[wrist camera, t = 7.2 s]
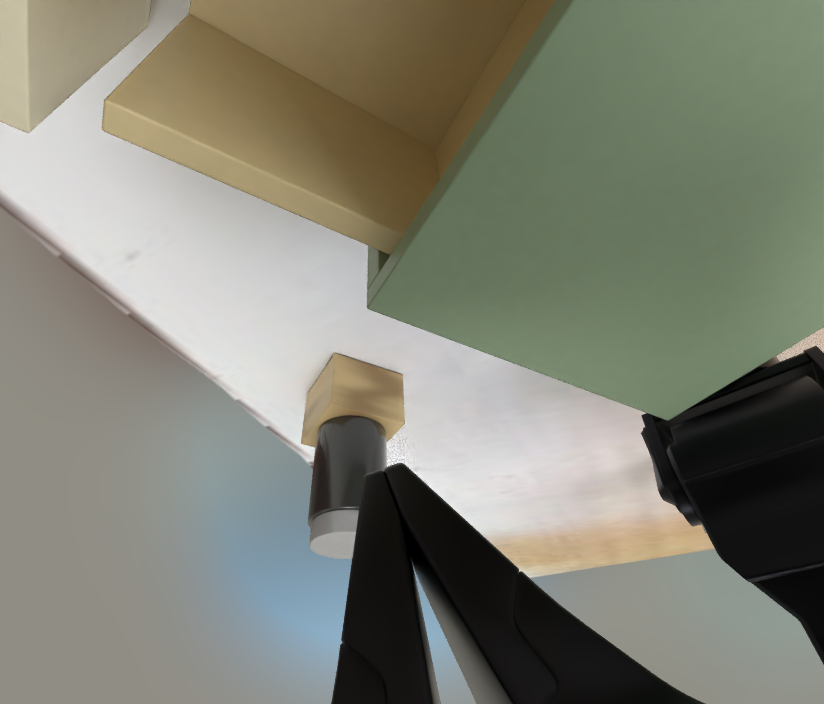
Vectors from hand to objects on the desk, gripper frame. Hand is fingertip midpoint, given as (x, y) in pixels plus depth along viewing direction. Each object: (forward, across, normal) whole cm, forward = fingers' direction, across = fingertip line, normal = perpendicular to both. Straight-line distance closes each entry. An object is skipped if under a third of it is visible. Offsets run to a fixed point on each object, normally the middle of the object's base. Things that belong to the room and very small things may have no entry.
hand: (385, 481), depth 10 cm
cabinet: (+12, -12, -4) cm, 18 cm away
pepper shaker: (+16, 0, +14) cm, 21 cm away
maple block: (+20, -1, +13) cm, 23 cm away
